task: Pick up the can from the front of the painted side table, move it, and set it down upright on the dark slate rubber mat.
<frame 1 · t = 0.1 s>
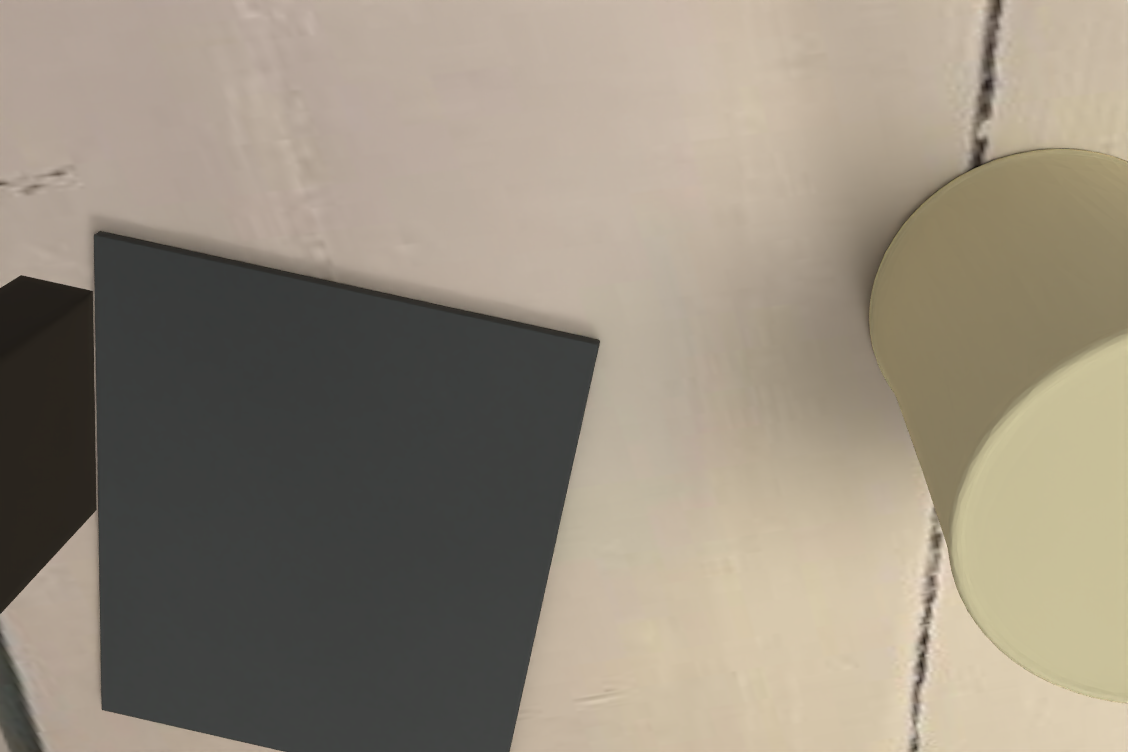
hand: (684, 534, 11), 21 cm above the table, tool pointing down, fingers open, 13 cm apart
can: (1030, 302, 31), on the table
mat: (322, 543, 38), on the table
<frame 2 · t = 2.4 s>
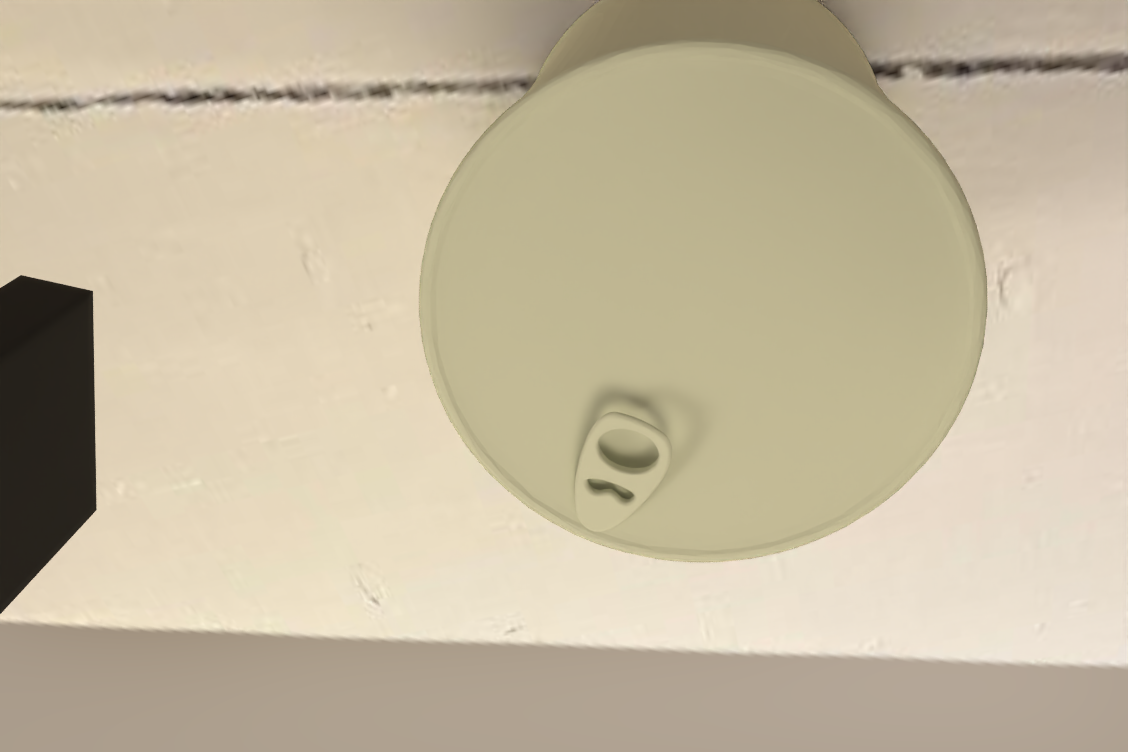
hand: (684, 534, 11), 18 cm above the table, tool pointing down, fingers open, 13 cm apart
can: (700, 154, 28), on the table
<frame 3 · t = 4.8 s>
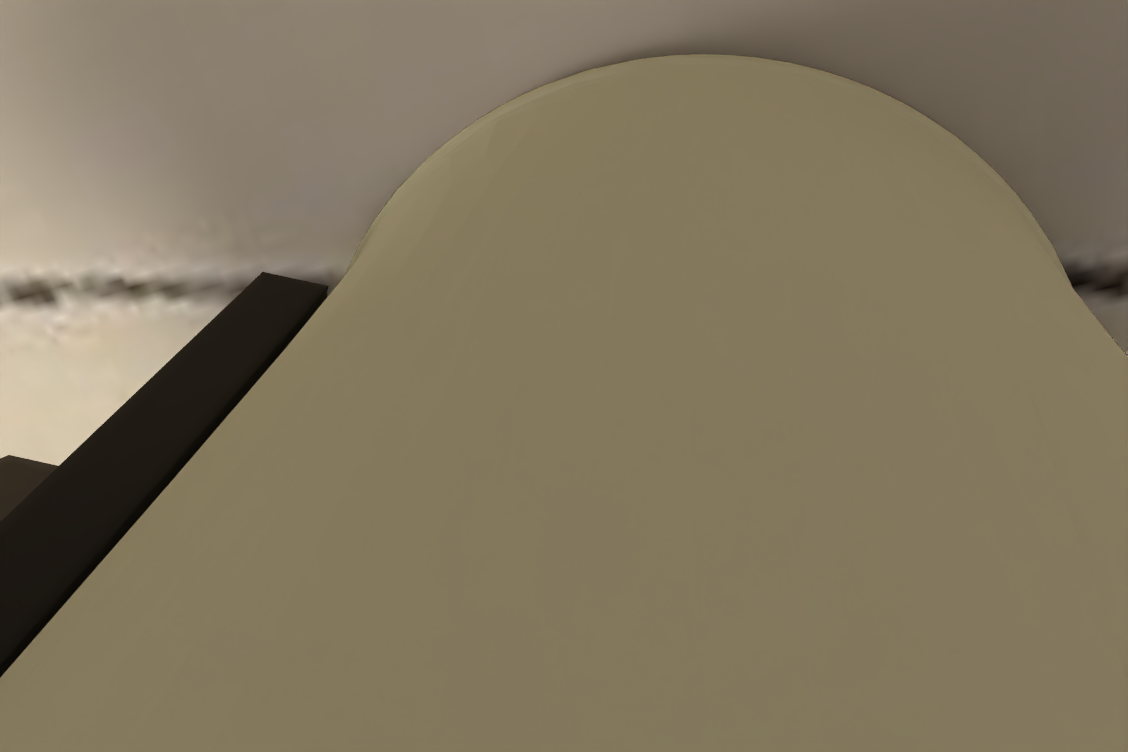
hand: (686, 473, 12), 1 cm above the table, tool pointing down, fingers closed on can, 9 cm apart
can: (689, 426, 14), on the table, touching gripper
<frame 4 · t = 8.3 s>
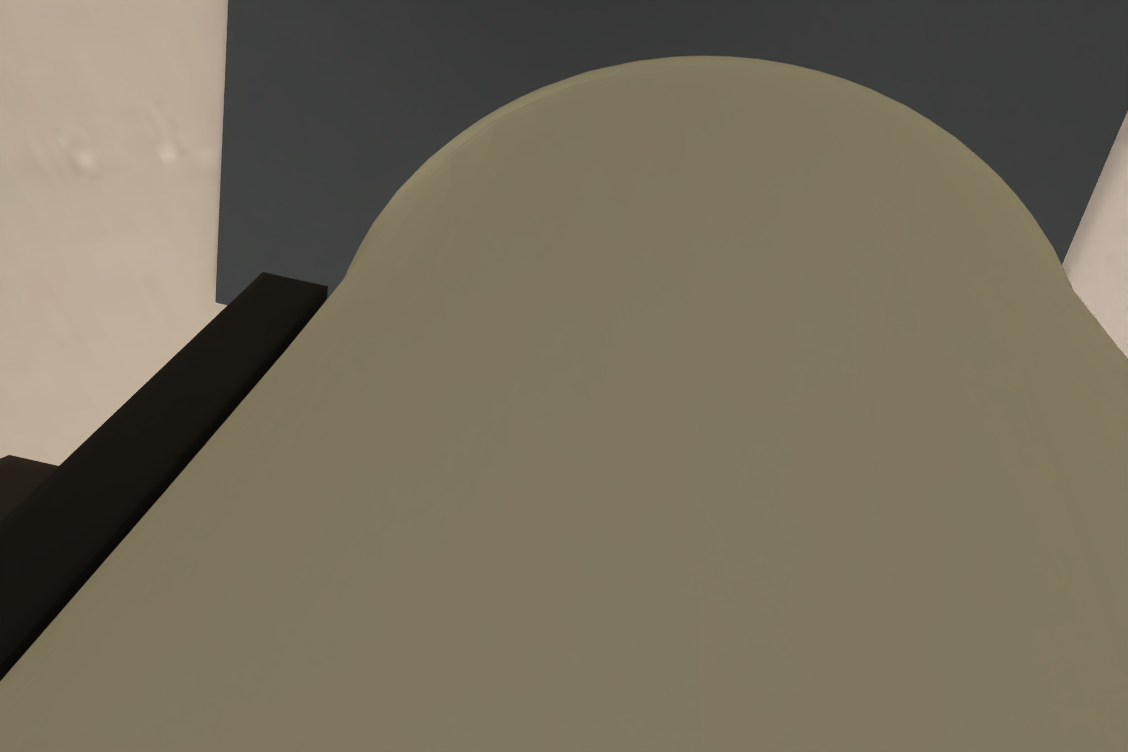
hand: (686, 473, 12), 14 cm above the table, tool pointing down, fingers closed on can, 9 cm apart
can: (690, 428, 14), point 13 cm above the table, touching gripper
mat: (662, 72, 24), on the table
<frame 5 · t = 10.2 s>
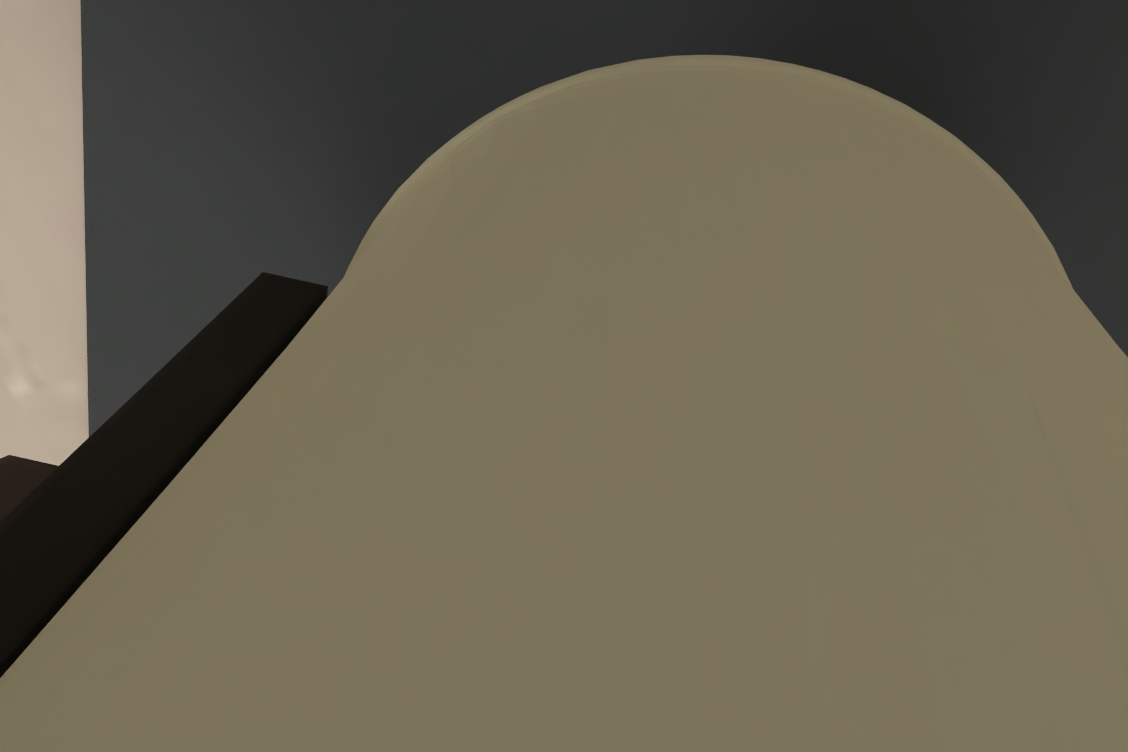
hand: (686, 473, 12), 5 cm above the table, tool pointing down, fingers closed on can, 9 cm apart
can: (689, 427, 13), point 4 cm above the table, touching gripper
mat: (693, 301, 17), on the table
when the fingers open (1 cm above the table, at t = 11.8 s): can stays where it is, resting on mat.
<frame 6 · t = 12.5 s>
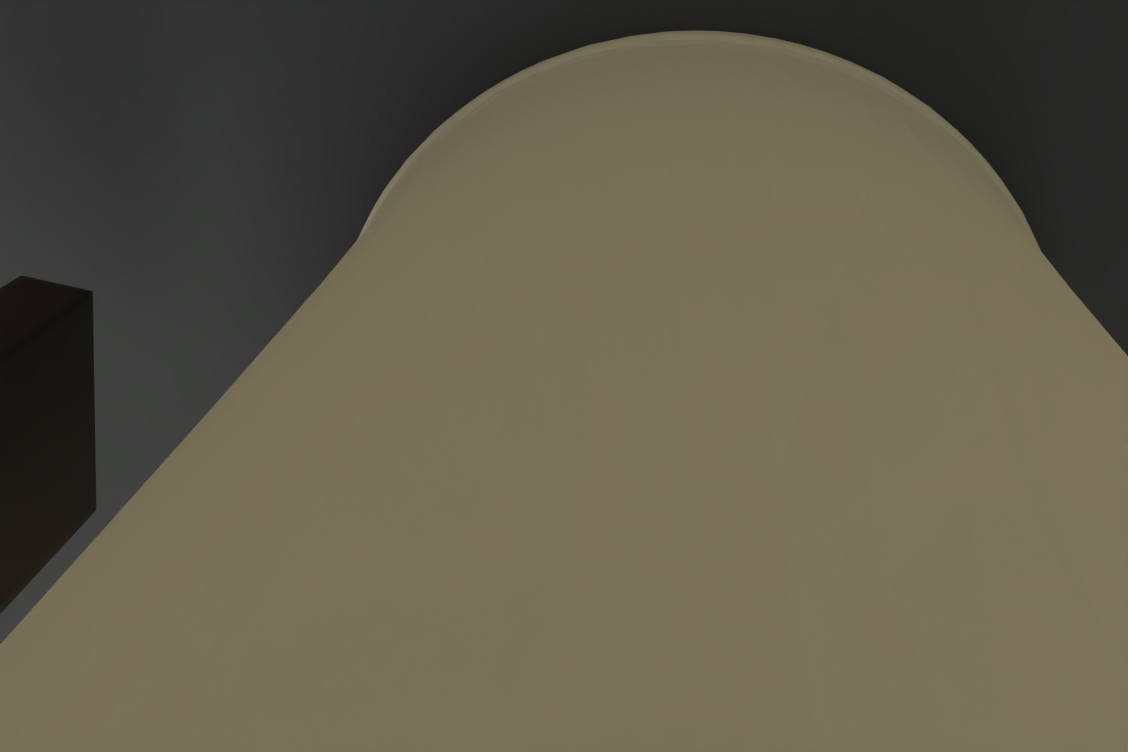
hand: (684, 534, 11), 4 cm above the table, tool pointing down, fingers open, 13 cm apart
can: (682, 386, 14), resting on mat
mat: (680, 378, 14), on the table
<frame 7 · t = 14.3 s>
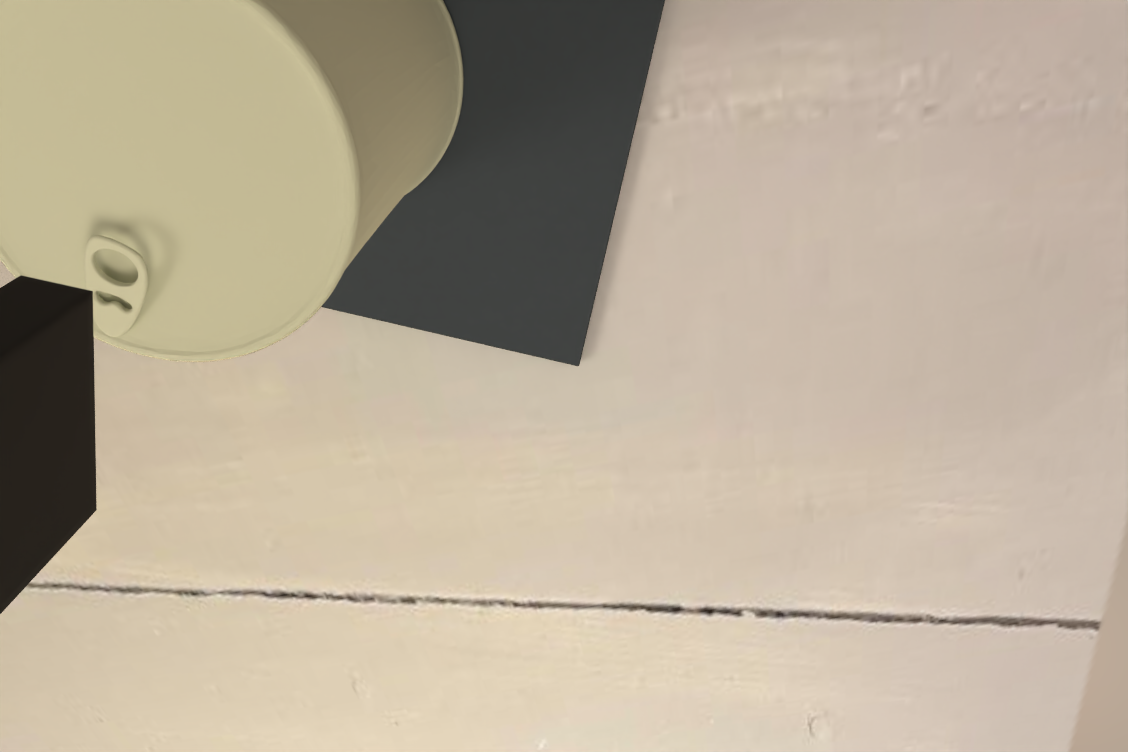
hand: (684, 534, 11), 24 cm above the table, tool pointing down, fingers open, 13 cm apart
can: (319, 68, 33), resting on mat
mat: (320, 66, 34), on the table
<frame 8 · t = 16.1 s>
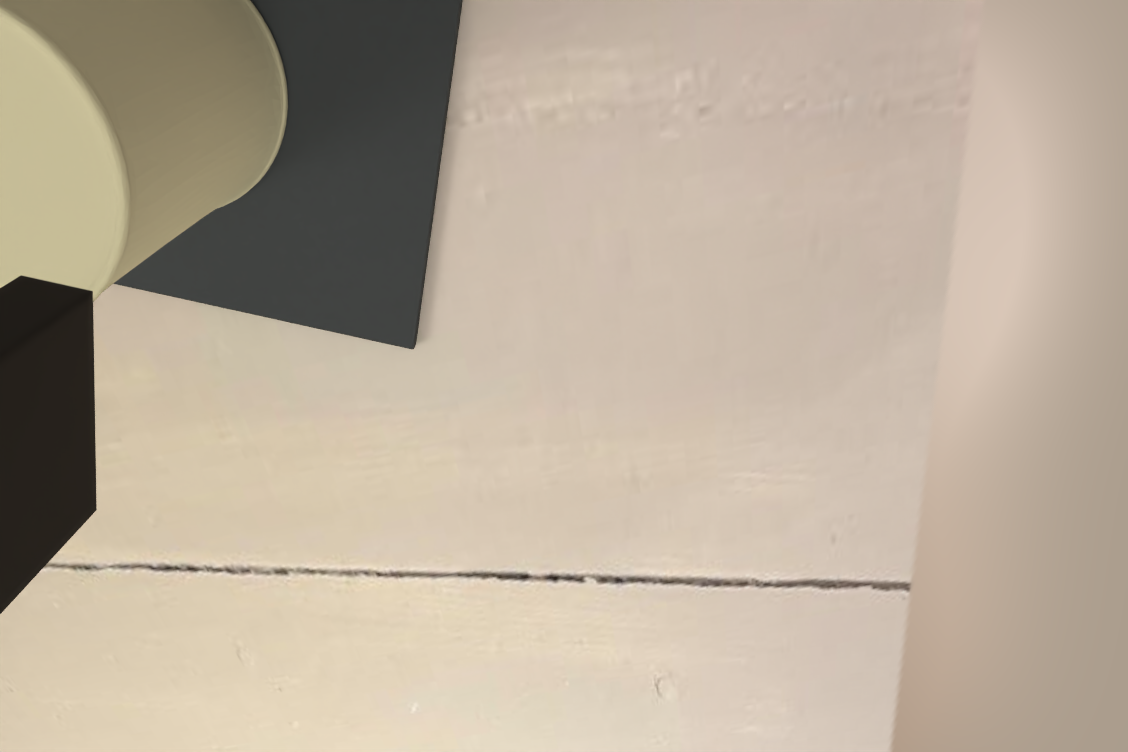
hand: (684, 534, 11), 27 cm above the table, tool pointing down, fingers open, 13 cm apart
can: (161, 81, 37), resting on mat
mat: (163, 80, 37), on the table
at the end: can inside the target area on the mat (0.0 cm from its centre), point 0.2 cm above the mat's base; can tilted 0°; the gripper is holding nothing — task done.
